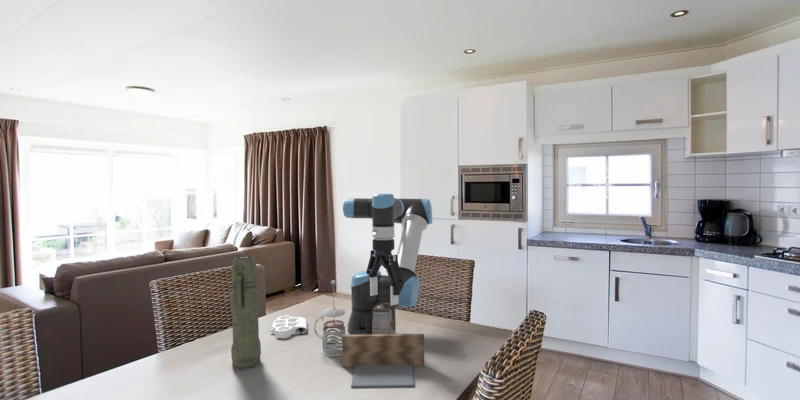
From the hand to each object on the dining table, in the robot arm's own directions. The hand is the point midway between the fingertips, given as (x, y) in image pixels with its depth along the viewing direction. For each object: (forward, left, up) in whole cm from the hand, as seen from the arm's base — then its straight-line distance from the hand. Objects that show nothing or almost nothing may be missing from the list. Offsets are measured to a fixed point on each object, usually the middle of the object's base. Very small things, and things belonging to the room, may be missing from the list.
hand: (383, 299), depth 138 cm
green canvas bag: (-18, -42, -19) cm, 49 cm away
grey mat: (+15, -10, -18) cm, 26 cm away
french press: (-11, -15, -19) cm, 26 cm away
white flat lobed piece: (-40, -21, -19) cm, 49 cm away
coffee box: (0, 0, -19) cm, 19 cm away
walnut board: (+9, -6, -18) cm, 21 cm away
